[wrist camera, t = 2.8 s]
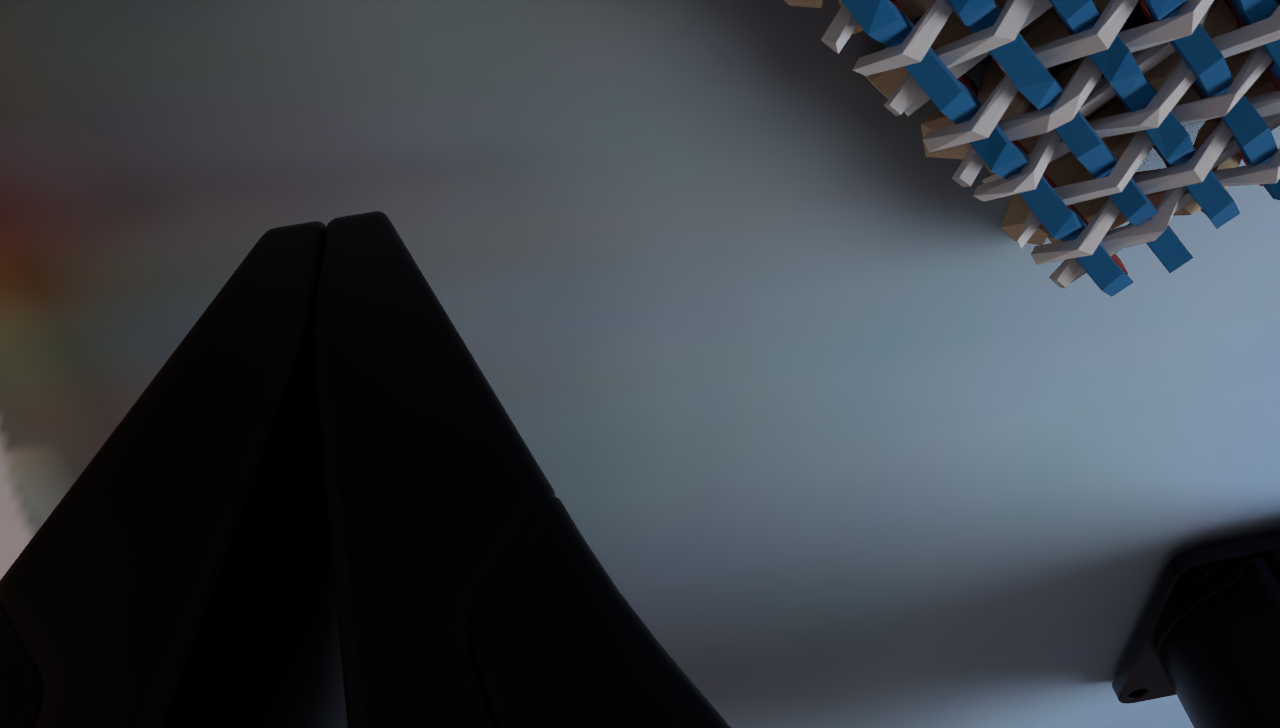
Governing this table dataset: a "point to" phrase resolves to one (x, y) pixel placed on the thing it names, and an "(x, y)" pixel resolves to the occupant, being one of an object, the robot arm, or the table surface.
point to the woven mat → (1085, 112)
